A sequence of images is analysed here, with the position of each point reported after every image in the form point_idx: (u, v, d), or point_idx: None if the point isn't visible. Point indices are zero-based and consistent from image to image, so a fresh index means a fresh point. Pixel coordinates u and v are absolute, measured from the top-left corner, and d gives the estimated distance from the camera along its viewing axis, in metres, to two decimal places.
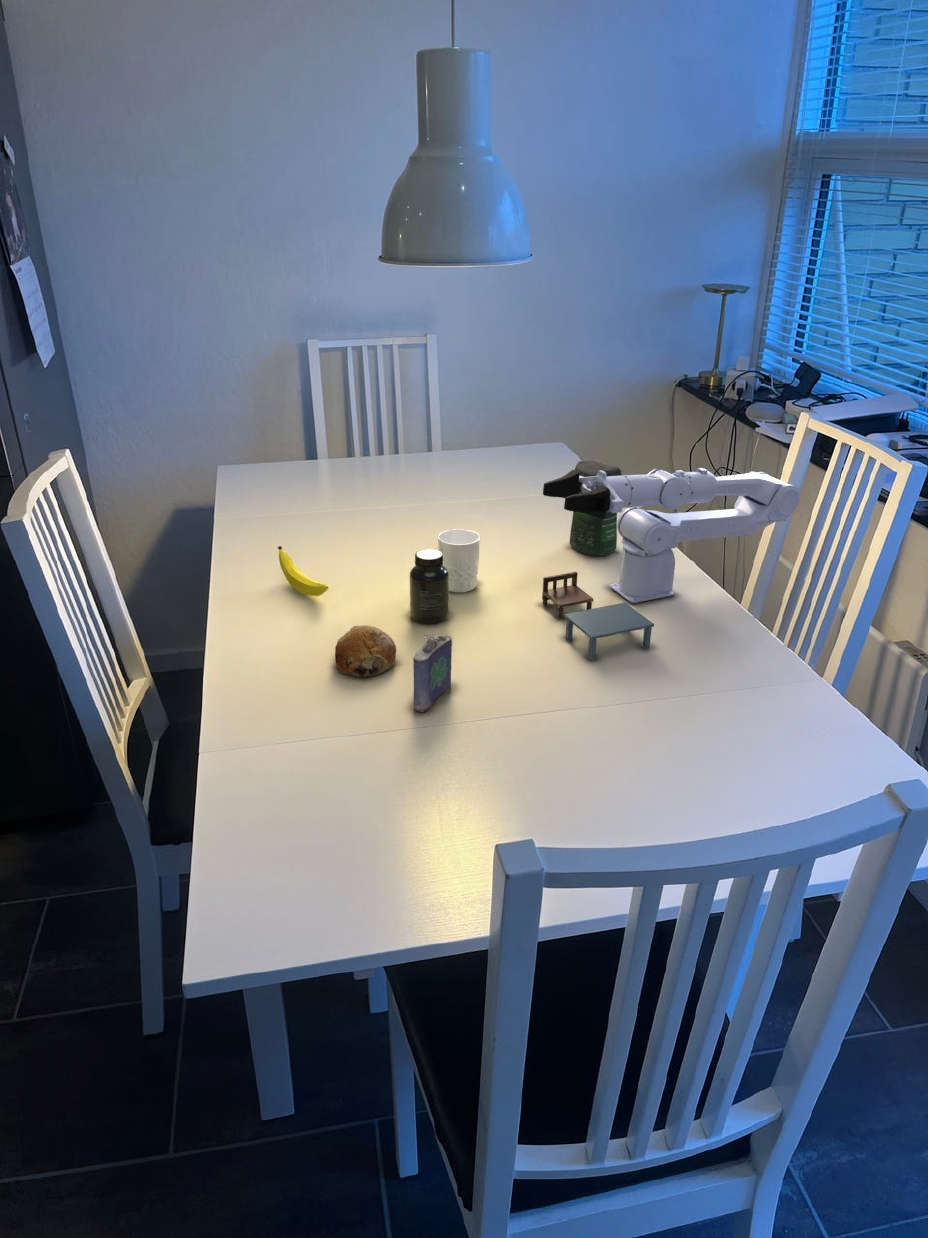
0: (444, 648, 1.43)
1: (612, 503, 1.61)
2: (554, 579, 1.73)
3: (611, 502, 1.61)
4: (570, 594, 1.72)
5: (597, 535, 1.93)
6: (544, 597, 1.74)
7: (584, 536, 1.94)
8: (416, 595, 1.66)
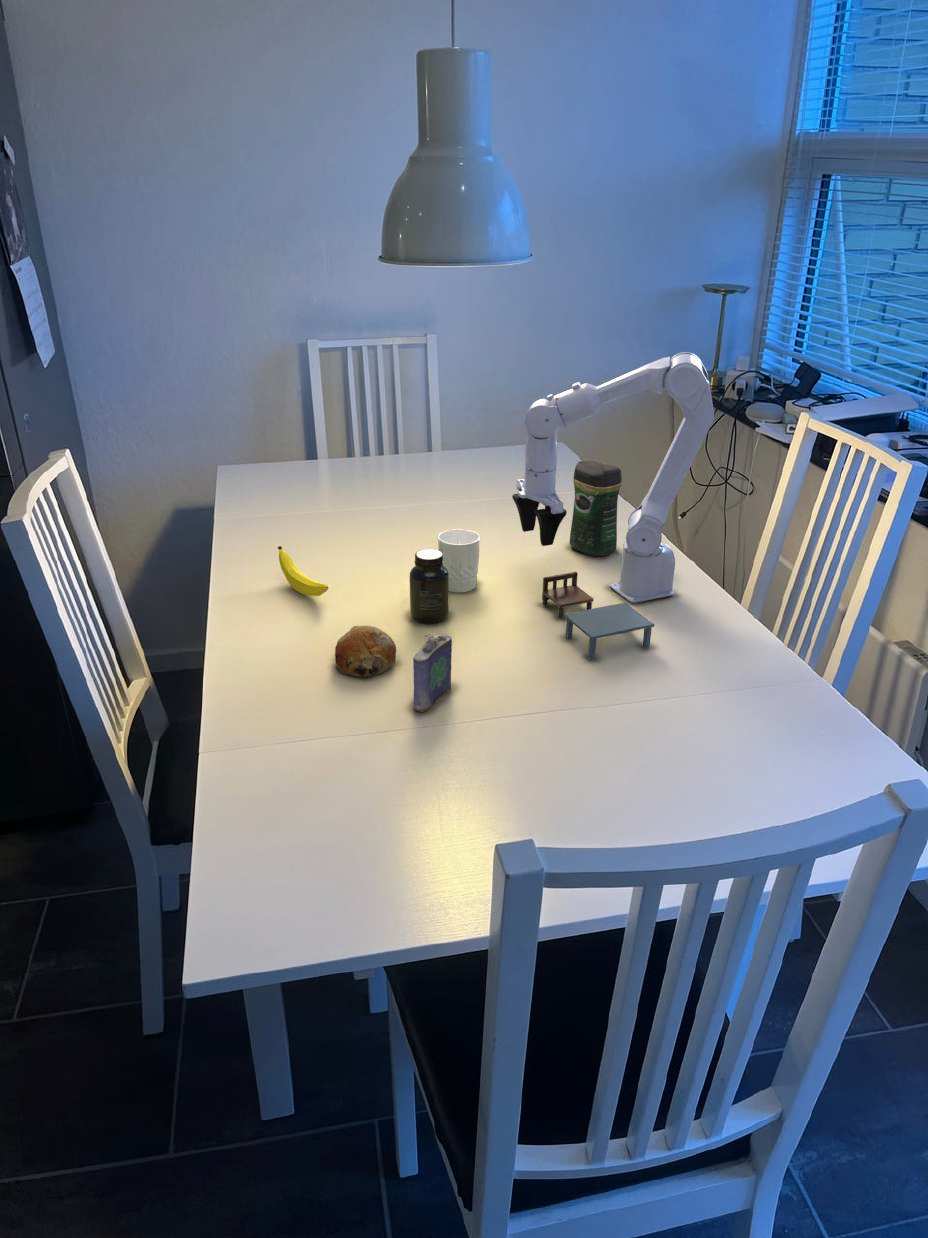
0: (444, 647, 1.43)
1: None
2: (554, 579, 1.73)
3: None
4: (570, 594, 1.72)
5: (597, 535, 1.93)
6: (544, 597, 1.74)
7: (584, 536, 1.94)
8: (416, 595, 1.66)
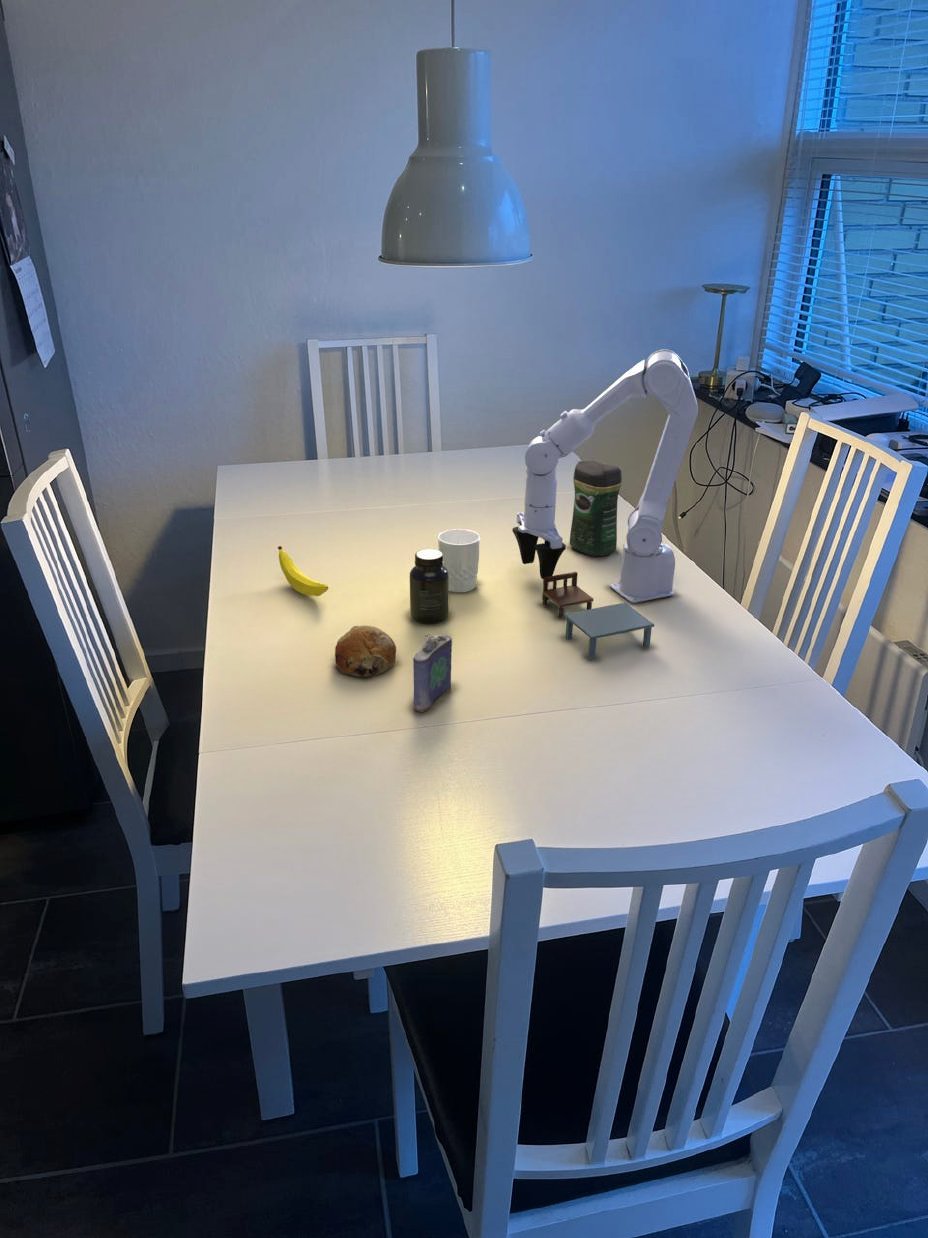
0: (444, 647, 1.43)
1: None
2: (554, 579, 1.73)
3: None
4: (570, 594, 1.72)
5: (597, 535, 1.93)
6: (544, 597, 1.74)
7: (584, 536, 1.94)
8: (416, 595, 1.66)
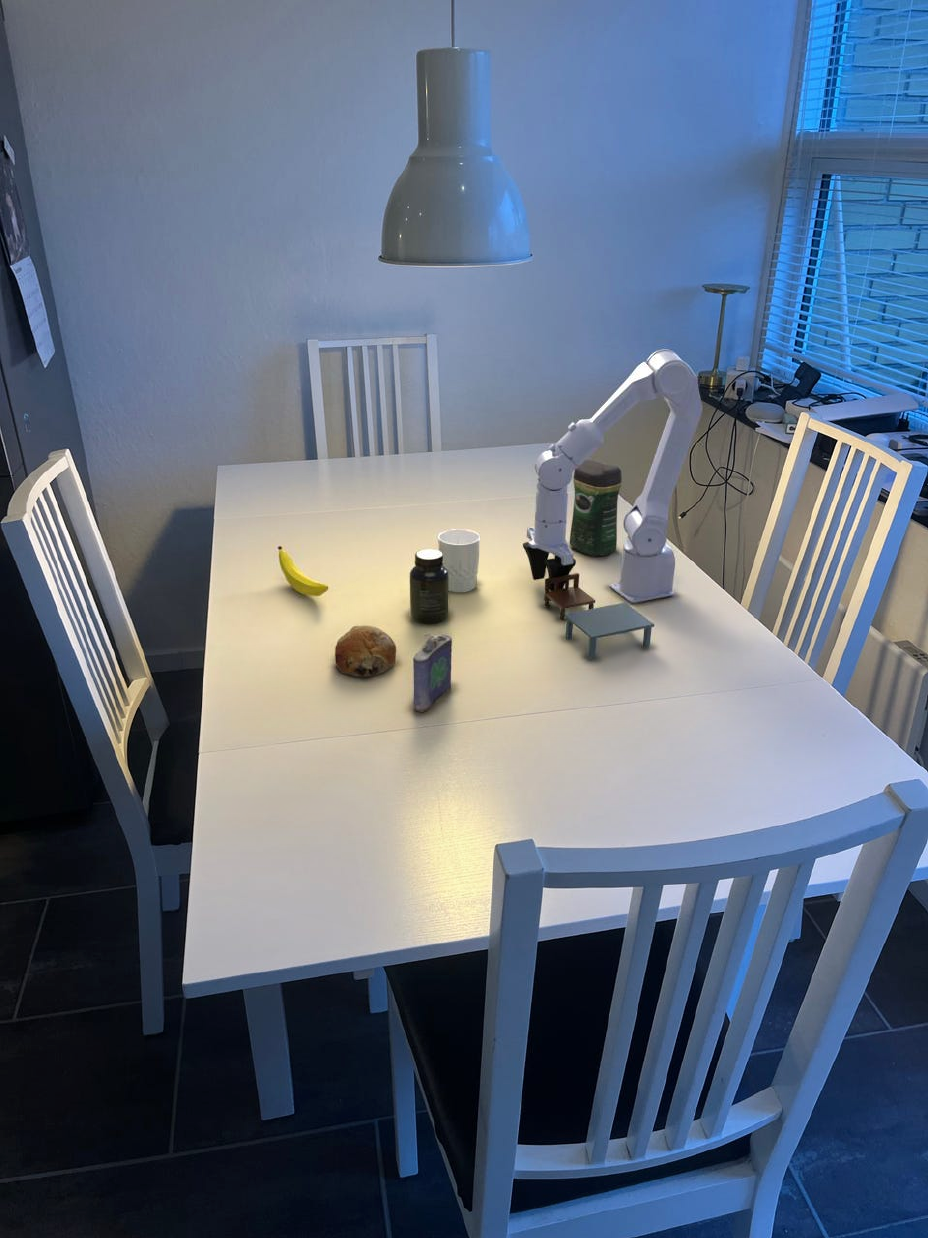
0: (444, 647, 1.43)
1: None
2: (556, 580, 1.72)
3: None
4: (572, 595, 1.72)
5: (597, 535, 1.93)
6: (546, 598, 1.73)
7: (584, 536, 1.94)
8: (416, 595, 1.66)
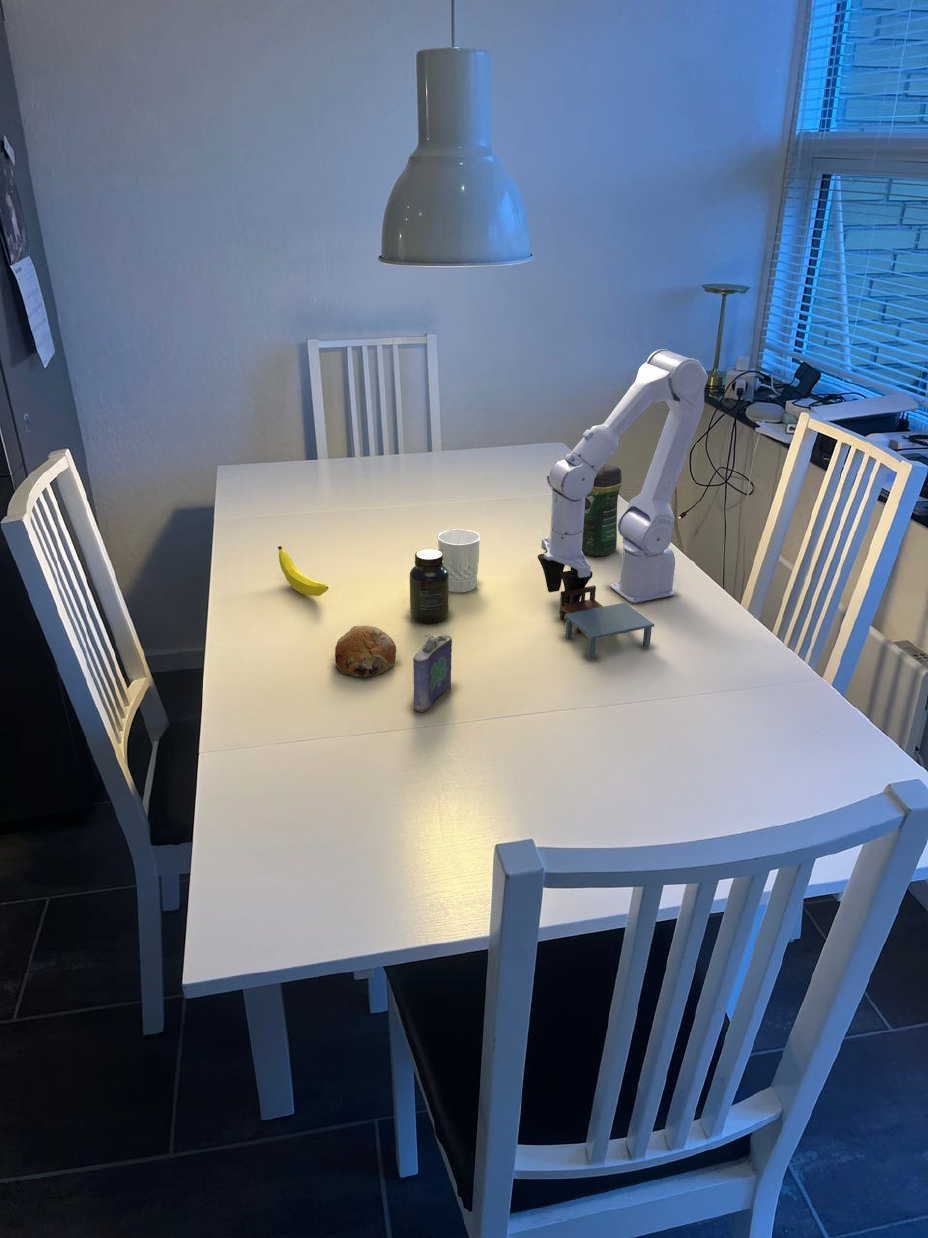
0: (444, 648, 1.43)
1: None
2: (572, 593, 1.68)
3: None
4: (589, 608, 1.67)
5: (597, 535, 1.93)
6: (561, 612, 1.68)
7: (584, 536, 1.94)
8: (416, 595, 1.66)
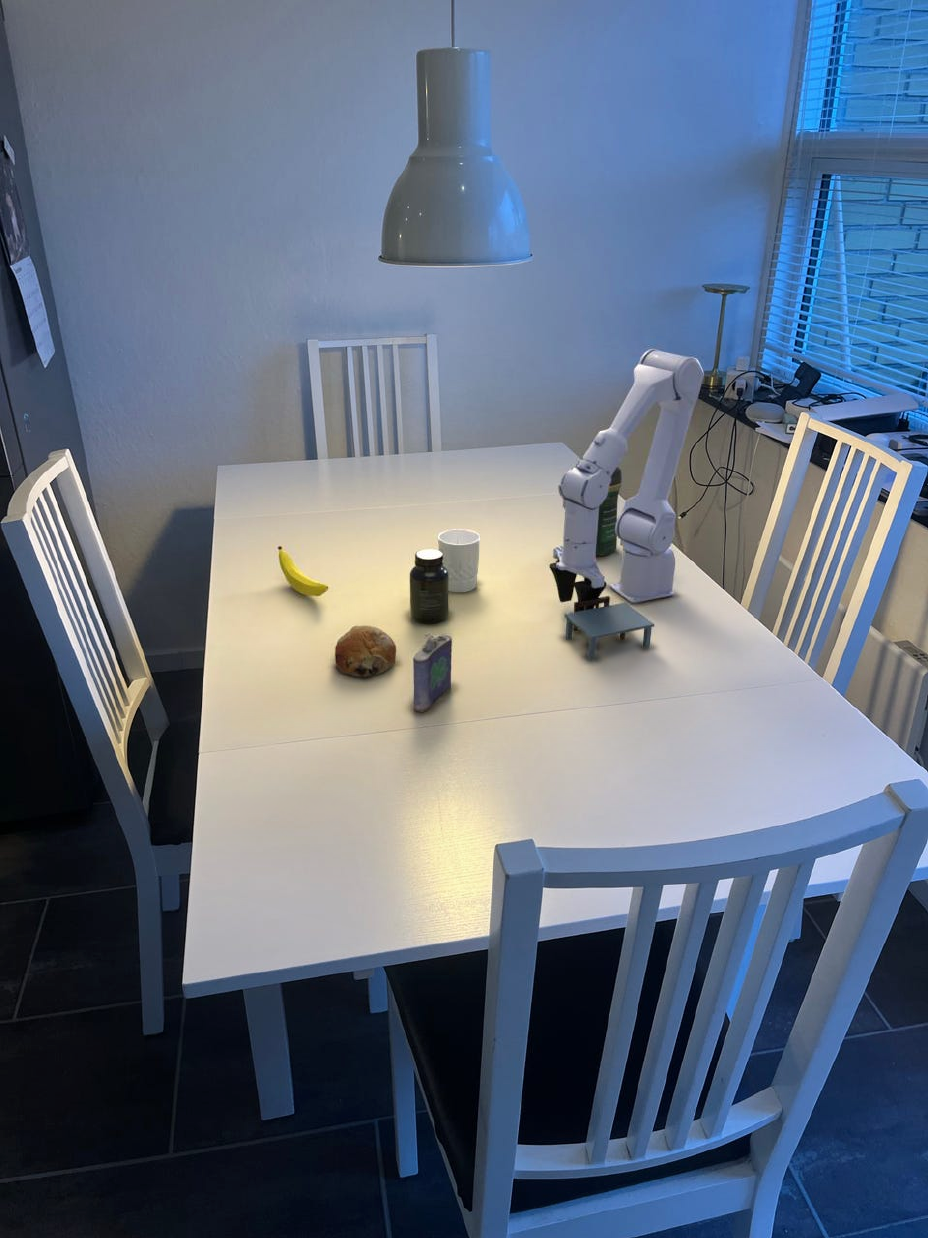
0: (444, 647, 1.43)
1: None
2: (585, 604, 1.64)
3: None
4: None
5: (597, 535, 1.93)
6: None
7: None
8: (416, 595, 1.66)
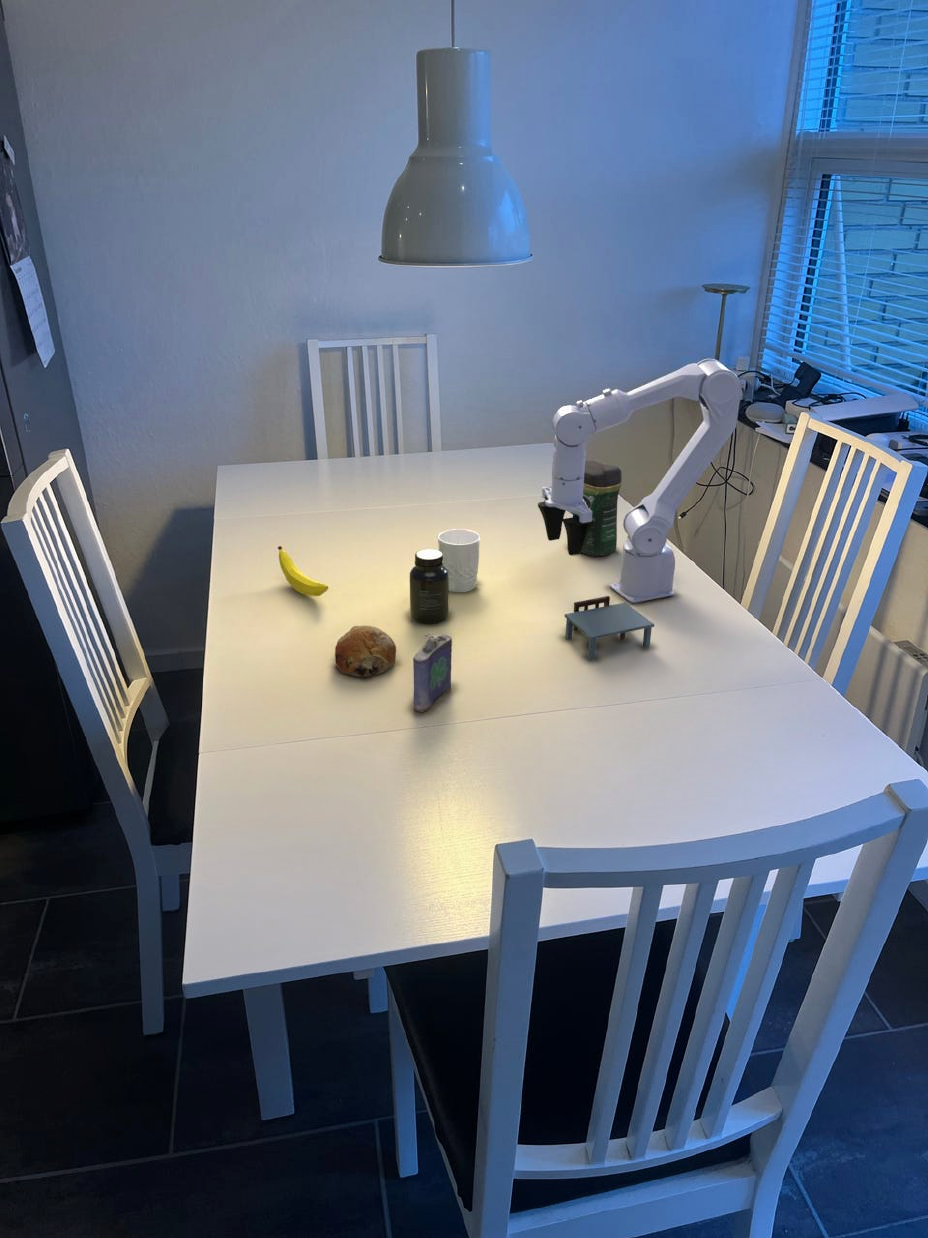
0: (444, 648, 1.43)
1: None
2: (585, 604, 1.64)
3: None
4: None
5: (597, 535, 1.93)
6: None
7: None
8: (416, 595, 1.66)
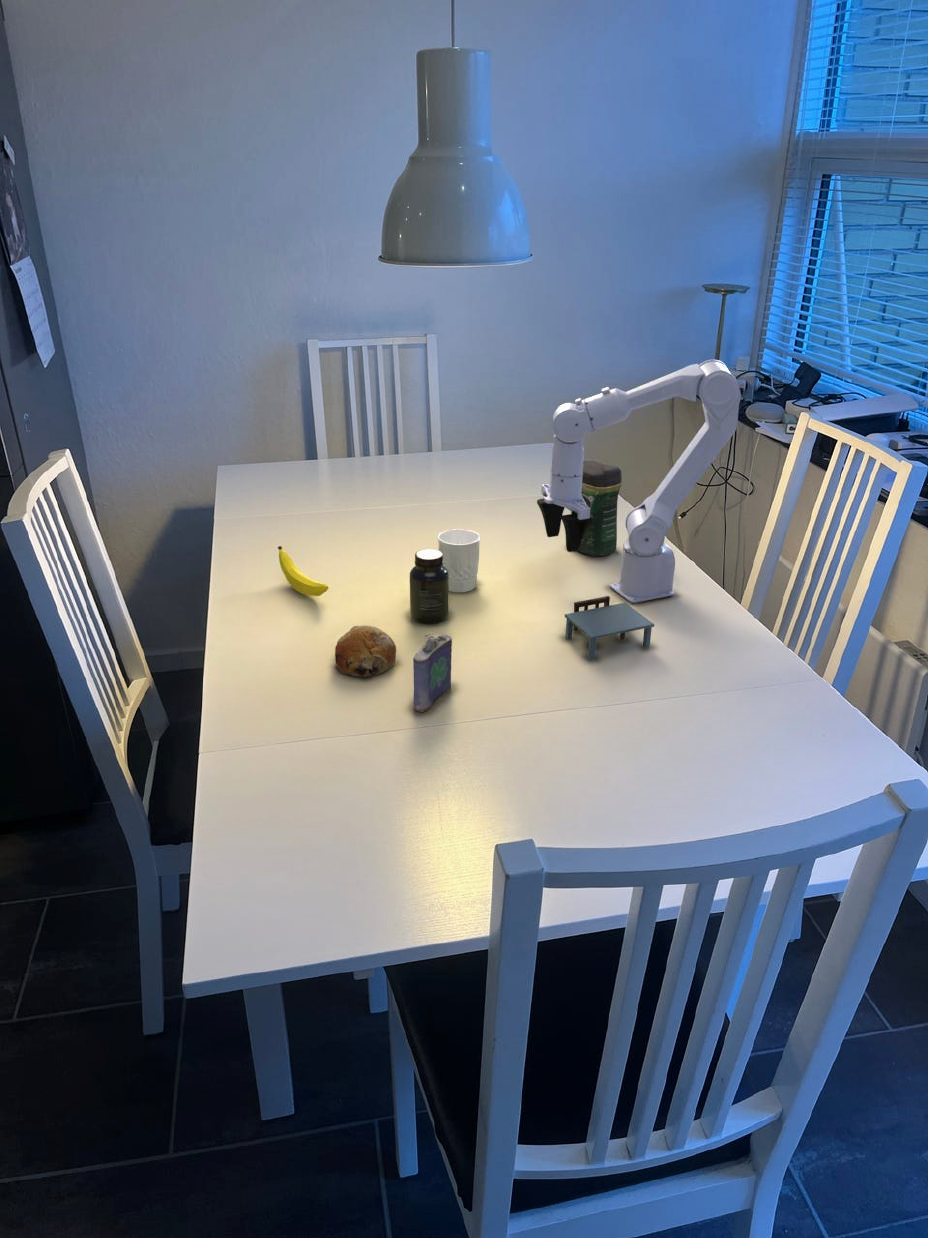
0: (444, 647, 1.43)
1: None
2: (585, 604, 1.64)
3: None
4: None
5: (597, 535, 1.93)
6: None
7: (584, 536, 1.94)
8: (416, 595, 1.66)
